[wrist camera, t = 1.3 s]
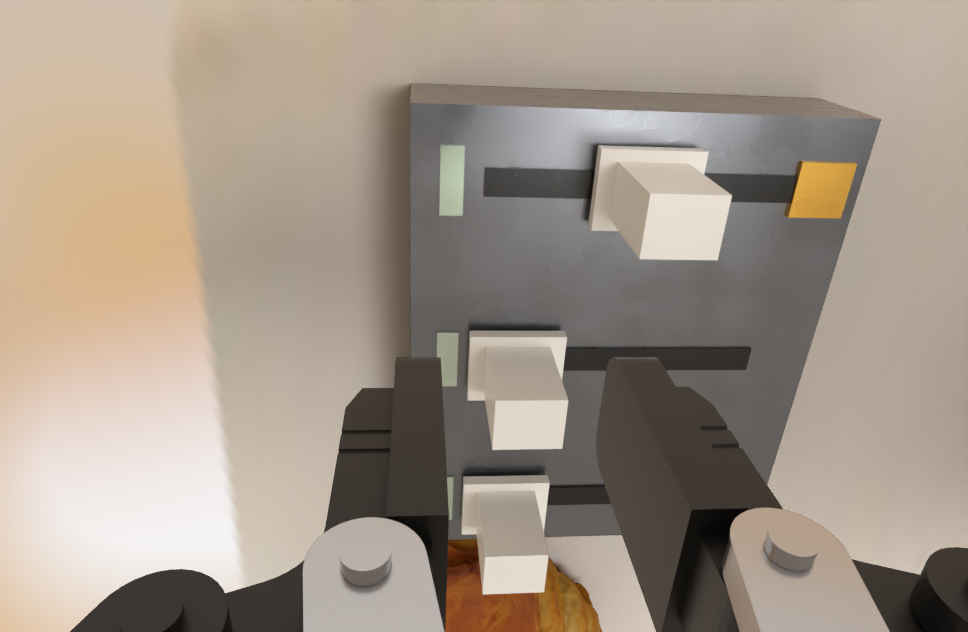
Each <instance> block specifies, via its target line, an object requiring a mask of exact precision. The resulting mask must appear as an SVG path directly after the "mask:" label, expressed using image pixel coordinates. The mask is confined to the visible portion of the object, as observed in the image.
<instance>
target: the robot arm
mask: <svg viewBox="0 0 968 632" xmlns="http://www.w3.org/2000/svg"><path fill="white" fill-rule="evenodd" d="M596 455H597V462H598V467H599V471H600V474H601V477H602V480H603V482H604V485H605V488H606V491H607V494H608V497H609V499H610V502H611V505H612V508H613V511H614V514H615V516H616V519H617V522H618V525H619V528H620V530H621V533H622V536H623V539H624V542H625V545H626V547H627V550H628V553H629V556H630V559H631V562H632V564H633V567H634V570H635V573H636V576H637V578H638V581H639V584H640V587H641V590H642V593H643V595H644V598H645V601H646V604H647V607H648V610H649V612H650V615H651V618H652V621H653V624H654V626H655V629H656V632H968V548H959V547H956V548H945V549H940V550H938V551H936V552H934V553H933V554H932V555H931V556H930V557H929V558H928V560H927V562H926V564H925V566H924V568H923V570H922V572H921V574H920V575H918V574H914V573H909V572H905V571H900V570H896V569H891V568H887V567H882V566H877V565H873V564H868V563H864V562H860V561H856V560H853V559H851V557H850V555H849V554H848V552H847V551H846V549H845V547H844V546H843V545H842V544H841V542H840V541H839V540H838V539H837V538H836V537H835V536H834V535H833V534H832V533H830V532H829V531H828V530H826V529H825V528H824V527H822V526H821V525H819V524H818V523H816V522H814V521H813V520H811V519H809V518H806V517H804V516H802V515H799V514H797V513H794V512H791V511H787V510H783V508H782V507H781V505H780V504H779V502H778V501H777V499H776V498H775V496H774V495H773V493H772V492H771V490H770V489H769V487H768V486H767V484H766V483H765V481H764V480H763V478H762V477H761V475H760V474H759V472H758V471H757V469H756V468H755V466H754V465H753V463H752V462H751V460H750V459H749V457H748V456H747V454H746V453H745V451H744V450H743V448H739V442H738V441H737V439H736V438H735V436H734V435H733V433H732V432H731V430H728V429H727V424H726V423H725V421H724V420H723V418H722V417H721V415H720V414H719V412H718V411H717V409H716V408H715V406H714V405H713V404H712V403H710V402H709V401H708V400H706V399H705V398H704V397H702V396H701V395H700V394H698V393H697V392H696V391H694V390H693V389H692V388H690V387H676V386H675V385H674V383H673V381H672V380H671V378H670V376H669V375H668V373H667V371H666V370H665V368H664V367H663V365H662V363H661V362H660V360H659V359H658V358H656V357H612V358H611V359H610V360H609V362H608V365H607V369H606V375H605V381H604V388H603V394H602V401H601V407H600V414H599V420H598V427H597V434H596ZM448 529H449V506H448V487H447V468H446V448H445V429H444V409H443V390H442V370H441V357H396V366H395V382H394V388H362V389H361V391H360V392H359V393H358V394H357V395H356V396H355V398H354V399H353V400H352V401H351V402H350V403H349V405H348V406H347V407H346V409H345V415H344V421H343V427H342V435H341V439H340V445H339V454H338V456H337V462H336V468H335V474H334V480H333V486H332V492H331V498H330V503H329V509H328V515H327V521H326V527H325V531H324V534H322V535H321V536H320V537H319V538H318V539H317V540H316V541H315V542H314V543H313V545H312V546H311V547H310V549H309V551H308V553H307V554H306V557H305V560H304V561H303V562H302V563H300V564H299V565H298V566H296V567H295V568H293V569H292V570H290V571H289V572H287V573H285V574H283V575H281V576H279V577H276V578H274V579H271V580H268V581H265V582H262V583H259V584H256V585H252V586H249V587H245V588H242V589H239V590H235V591H232V592H229V593H224V591H223V589H222V588H221V586H220V585H219V584H218V582H216V581H215V580H214V579H212V578H211V577H209V576H207V575H205V574H203V573H200V572H196V571H192V570H182V569H179V570H166V571H160V572H156V573H152V574H149V575H145V576H143V577H141V578H138V579H135V580H133V581H131V582H129V583H128V584H126V585H124V586H122V587H120V588H119V589H118V590H116V591H115V592H113V593H112V594H110V595H109V596H108V597H107V598H106V599H104V600H103V601H102V602H101V603H100V604H99V605H98V606H97V607H96V608H95V609H94V610H92V611H91V612H90V613H89V614H88V615H87V616H86V617H85V618H84V619H83V620H82V621H81V622H80V623H79V624H78V625H77V626H76V627H75V628H74V629H72V630H71V631H70V632H445V624H446V593H447V561H448Z"/></svg>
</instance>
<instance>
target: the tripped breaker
mask: <svg viewBox="0 0 968 632" xmlns="http://www.w3.org/2000/svg"><path fill="white" fill-rule="evenodd" d="M708 153H709V152H708V151H706V150H705V149H703V148H674V147H639V146H605V145H598V151H597V159H596V167H595V175H594V183H593V191H592V199H591V207H590V215H589V223H588V226H589V228H590V229H591V231H619V232H620V234H621V235H622V237H623V238H624V239H625V241H626V242H627V243H628V245H629V246H630V247H631V249H632V250H633V251H634V253H635V254H636V255H637V257H638V258H639V259H652V260H718V257H719V252H720V248H721V243H722V239H723V234H724V230H725V225H726V221H727V216H728V212H729V207H730V203H731V199H732V195H731V194H730V193H728V192H727V191H725V190H724V189H723V188H721V187H720V186H719V185H717V184H716V183H715V182H713V181H712V180H711V179H709V178H708V177H706V176H705V175H704V173H705V168H706V163H707V158H708Z"/></svg>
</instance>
